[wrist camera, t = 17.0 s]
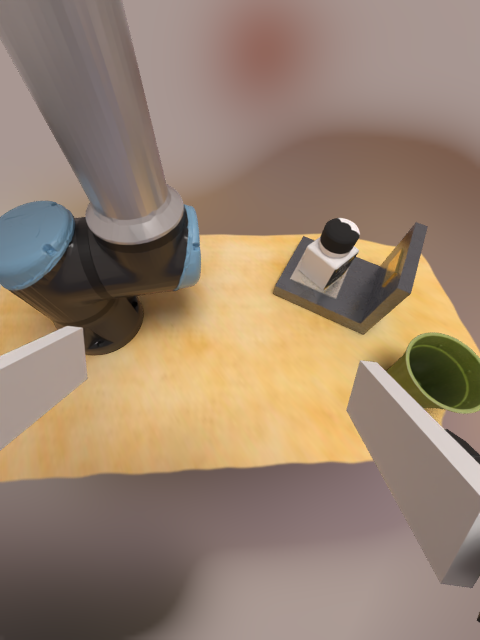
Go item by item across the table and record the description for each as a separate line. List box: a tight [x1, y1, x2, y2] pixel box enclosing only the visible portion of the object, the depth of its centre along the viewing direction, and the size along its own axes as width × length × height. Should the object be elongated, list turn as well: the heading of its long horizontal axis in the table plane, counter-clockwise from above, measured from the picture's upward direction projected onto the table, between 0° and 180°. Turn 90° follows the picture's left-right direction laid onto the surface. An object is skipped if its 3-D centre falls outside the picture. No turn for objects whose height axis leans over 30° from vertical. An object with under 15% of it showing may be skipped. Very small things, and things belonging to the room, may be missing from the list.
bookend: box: [273, 223, 427, 335], centre depth 49 cm, size 20×16×15 cm
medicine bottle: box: [299, 218, 360, 290], centre depth 48 cm, size 7×7×12 cm
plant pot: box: [386, 333, 480, 414], centre depth 41 cm, size 12×12×11 cm
